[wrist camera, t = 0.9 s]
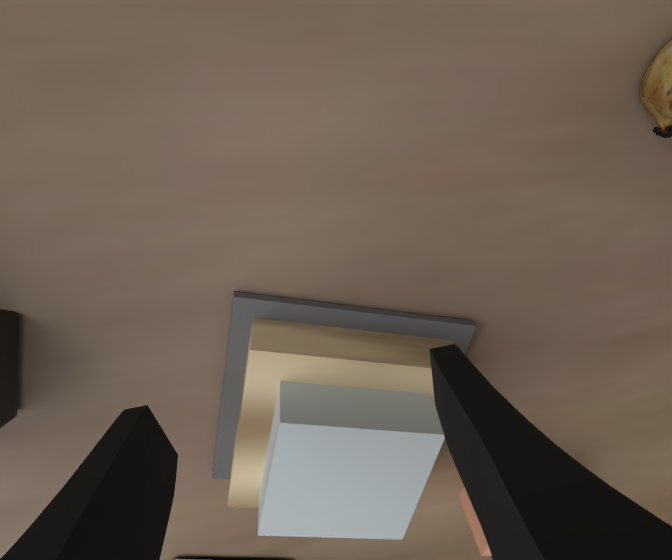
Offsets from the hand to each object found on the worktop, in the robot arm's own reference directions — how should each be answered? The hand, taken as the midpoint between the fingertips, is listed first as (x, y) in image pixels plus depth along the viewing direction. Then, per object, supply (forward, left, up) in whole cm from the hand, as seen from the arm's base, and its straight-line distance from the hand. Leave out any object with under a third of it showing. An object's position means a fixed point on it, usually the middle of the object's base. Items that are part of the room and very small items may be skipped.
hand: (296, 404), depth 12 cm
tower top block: (-9, -4, -7) cm, 12 cm away
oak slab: (-9, -4, -10) cm, 14 cm away
